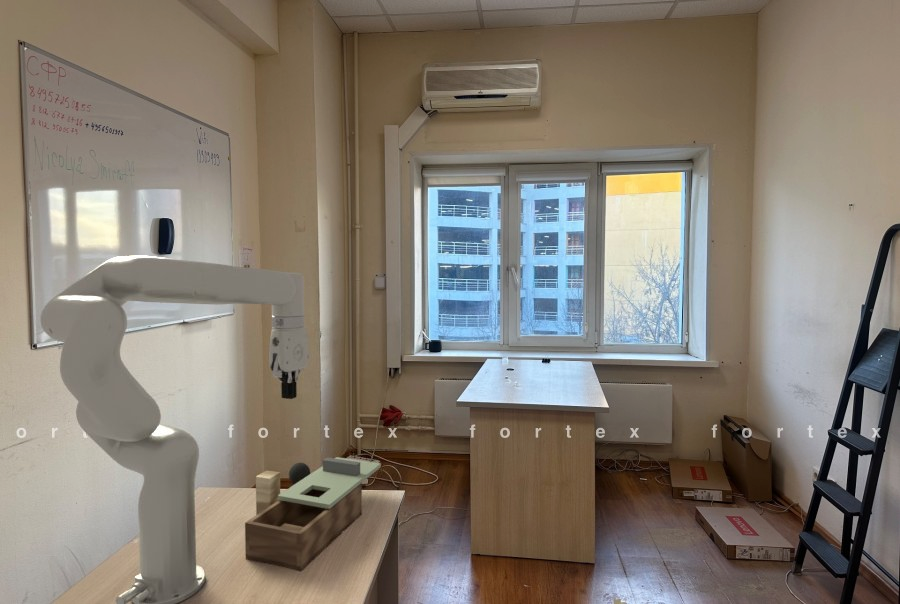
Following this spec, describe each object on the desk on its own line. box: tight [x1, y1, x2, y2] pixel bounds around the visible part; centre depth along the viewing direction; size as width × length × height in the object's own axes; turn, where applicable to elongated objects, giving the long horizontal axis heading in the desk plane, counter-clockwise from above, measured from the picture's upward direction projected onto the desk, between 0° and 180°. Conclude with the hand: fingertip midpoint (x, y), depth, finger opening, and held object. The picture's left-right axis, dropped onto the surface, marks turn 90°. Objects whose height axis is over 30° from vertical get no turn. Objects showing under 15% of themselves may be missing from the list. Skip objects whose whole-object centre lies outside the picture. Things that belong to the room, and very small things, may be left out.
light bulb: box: [288, 462, 311, 486], centre depth 136 cm, size 6×6×10 cm
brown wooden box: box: [244, 483, 363, 572], centre depth 118 cm, size 26×14×8 cm, turn 162°
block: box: [255, 470, 281, 516], centre depth 123 cm, size 4×4×12 cm
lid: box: [278, 456, 382, 509], centre depth 128 cm, size 26×14×4 cm, turn 162°
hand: (289, 397), depth 122 cm, fingers closed
